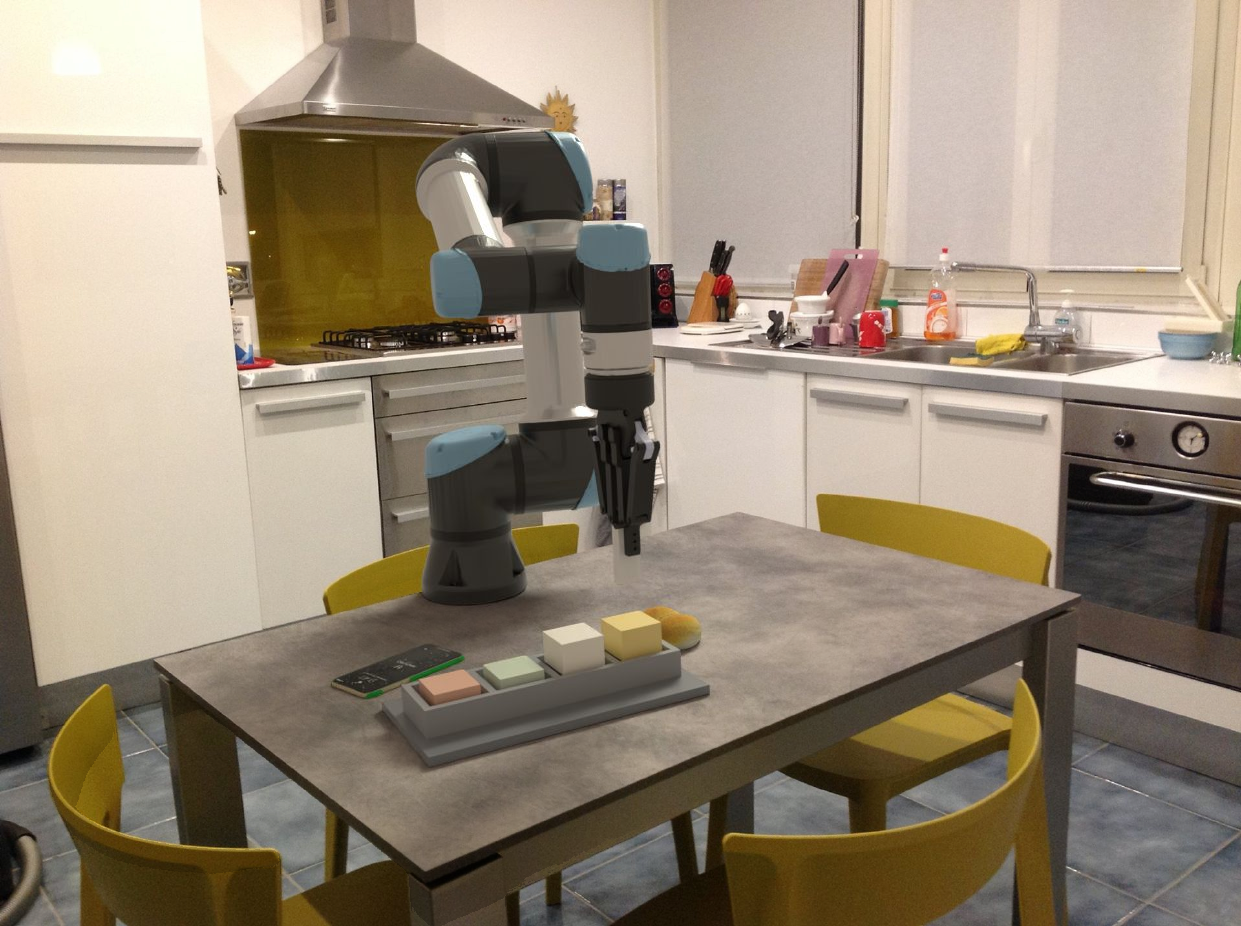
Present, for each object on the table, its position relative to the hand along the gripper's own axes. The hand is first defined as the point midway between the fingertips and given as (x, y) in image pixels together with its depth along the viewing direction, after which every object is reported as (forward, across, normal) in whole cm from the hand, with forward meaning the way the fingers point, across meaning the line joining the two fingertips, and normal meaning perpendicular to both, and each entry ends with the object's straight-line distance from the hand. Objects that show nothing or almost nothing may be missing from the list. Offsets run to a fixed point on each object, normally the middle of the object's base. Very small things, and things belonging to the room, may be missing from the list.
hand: (628, 581), depth 126 cm
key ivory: (+8, 0, -7) cm, 11 cm away
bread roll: (+12, -10, +10) cm, 18 cm away
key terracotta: (+11, 0, -21) cm, 24 cm away
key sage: (+11, 0, -14) cm, 18 cm away
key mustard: (+8, 0, 0) cm, 8 cm away
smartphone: (+12, -18, -22) cm, 31 cm away
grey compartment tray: (+12, 0, -11) cm, 16 cm away
